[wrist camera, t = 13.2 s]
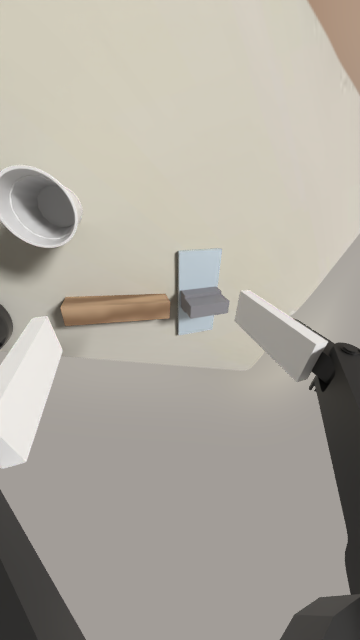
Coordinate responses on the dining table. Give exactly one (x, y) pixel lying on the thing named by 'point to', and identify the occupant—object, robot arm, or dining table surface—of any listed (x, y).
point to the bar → (114, 308)
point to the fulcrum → (199, 290)
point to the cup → (38, 207)
